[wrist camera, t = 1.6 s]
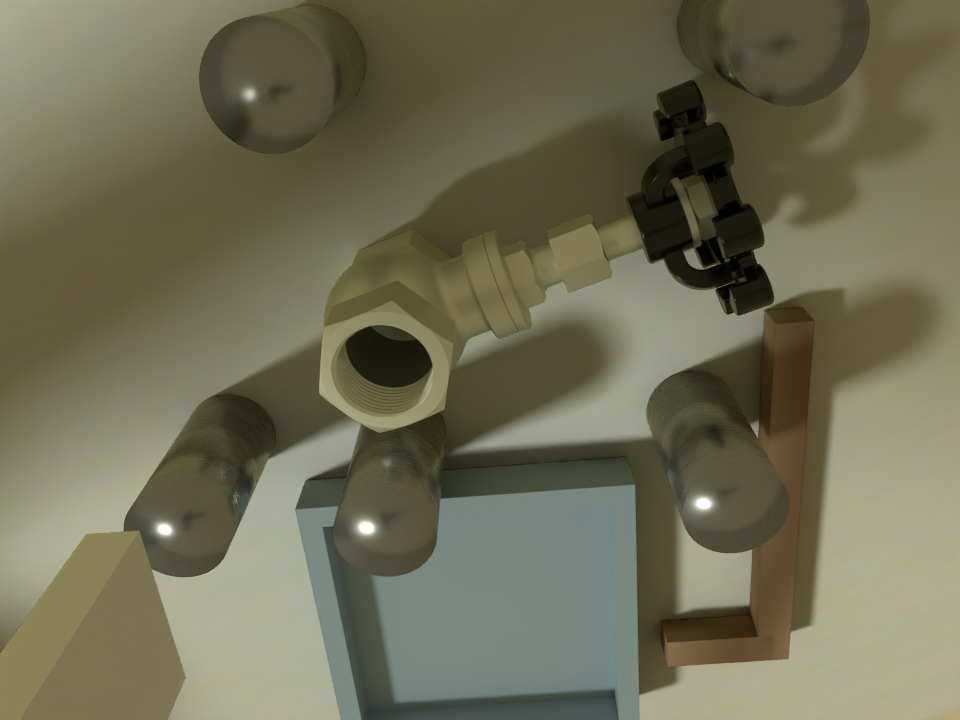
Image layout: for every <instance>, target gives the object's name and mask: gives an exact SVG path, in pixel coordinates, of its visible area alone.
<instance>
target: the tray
mask: <svg viewBox="0 0 960 720" xmlns="http://www.w3.org/2000/svg"><path fill="white" fill-rule="evenodd" d="M345 481H346V478H336V479H322V480H309V481H305V483H304V486H303V489H302V492H301V494H300V497H299V500H298V503H297V506H296V509H295V511H296V515H297V520H298V525H299V529H300V534H301V538H302V543H303V548H304V552H305V557H306V561H307V566H308V571H309V575H310V580H311V584H312V589H313V593H314V598H315V603H316V607H317V612H318V616H319V621H320V626H321V630H322V635H323V639H324V644H325V649H326V653H327V658H328V662H329V667H330V672H331V676H332V681H333V685H334V690H335V695H336V699H337V704H338V708H339V713H340V717H341V720H640V719H639V666H638V612H637V558H636V505H635V482H634V479H633V475H632V472H631V469H630V465H629V462H628V458H627V457H617V458H604V459H591V460H577V461H564V462H550V463H537V464H524V465H510V466H497V467H483V468H470V469H456V470H443V475H442V487H441V498H440V510H439V521H438V532H437V543H436V546H435V549H434V551H433V553H432V555H431V557H430V558H429V559H428V560H427V562H426V563H424V564H423V565H422V566H421V567H419V568H418V569H416V570H414V571H412V572H410V573H407V574H404V575H400V576H394V577H382V576H375V575H371V574H368V573H365V572H362V571H360V570H358V569H356V568H355V567H353V566H352V565H350V564H349V563H348V562H347V561H346V560H345V559H344V558H343V557H342V556H341V554H340V553H339V551H338V550H337V548H336V545H335V542H334V539H333V525H334V521H335V517H336V513H337V510H338V506H339V502H340V499H341V495H342V492H343V488H344V484H345Z"/></svg>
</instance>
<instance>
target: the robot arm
mask: <svg viewBox="0 0 960 720" xmlns="http://www.w3.org/2000/svg"><path fill="white" fill-rule="evenodd" d="M185 678H186V677H185V674H184V671H183V668H182V664H181V661H180V658H179V655H178V652H177V649H176V645H175V642H174V639H173V636H172V633H171V630H170V626H169V623H168V620H167V617H166V614H165V611H164V607H163V604H162V601H161V598H160V595H159V591H158V588H157V585H156V582H155V579H154V576H153V572H152V569H151V566H150V563H149V560H148V557H147V553H146V550H145V547H144V544H143V541H142V538H141V534H140V531H126V532H110V533H95V534H86V535H85V537H84V538H83V539H82V541H81V542H80V544H79V545H78V546H77V548H76V549H75V551H74V552H73V553H72V555H71V556H70V558H69V559H68V560H67V562H66V563H65V564H64V566H63V567H62V569H61V570H60V571H59V573H58V574H57V576H56V577H55V578H54V580H53V581H52V583H51V584H50V585H49V587H48V588H47V589H46V591H45V592H44V594H43V595H42V596H41V598H40V599H39V601H38V602H37V603H36V605H35V606H34V608H33V609H32V610H31V612H30V613H29V614H28V616H27V617H26V619H25V620H24V621H23V623H22V624H21V626H20V627H19V628H18V630H17V631H16V633H15V634H14V635H13V637H12V638H11V639H10V641H9V642H8V644H7V645H6V646H5V648H4V649H3V651H2V652H1V653H0V720H167V719H168V717H169V714H170V712H171V710H172V708H173V705H174V703H175V701H176V698H177V696H178V694H179V692H180V689H181V687H182V685H183V682H184V680H185Z"/></svg>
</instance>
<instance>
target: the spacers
mask: <svg viewBox="0 0 960 720" xmlns="http://www.w3.org/2000/svg"><path fill="white" fill-rule="evenodd" d="M869 25H870V19H869V10H868V6H867V2H866V0H683V1H682V3H681V6H680V9H679V14H678V20H677V33H678V38H679V42H680V45H681V48H682V50H683V52H684V54H685V55H686V57H687V58H688V59H689V60H690V62H691V63H692V64H694V65H695V66H696V67H697V68H699V69H700V70H702V71H704V72H706V73H708V74H710V75H712V76H714V77H717V78H719V79H721V80H723V81H725V82H727V83H729V84H731V85H733V86H735V87H737V88H740V89H742V90H744V91H746V92H748V93H750V94H752V95H754V96H756V97H758V98H760V99H763V100H765V101H767V102H770V103H773V104H776V105H782V106H799V105H805V104H808V103H812V102H815V101H817V100H819V99H822V98H824V97H825V96H827V95H829V94H830V93H832V92H833V91H834V90H836V89H837V88H838V87H839V86H841V85H842V84H843V83H844V82H845V81H846V80H847V79H848V77H849V76H850V75H851V74H852V72H853V71H854V70H855V68H856V67H857V65H858V63H859V61H860V59H861V58H862V55H863V53H864V50H865V48H866V44H867V40H868V35H869ZM365 70H366V59H365V52H364V48H363V45H362V42H361V40H360V38H359V36H358V34H357V32H356V31H355V29H354V28H353V27H352V26H351V24H350V23H349V22H348V21H347V20H346V19H345V18H343V17H342V16H341V15H339V14H338V13H336V12H334V11H332V10H330V9H328V8H325V7H321V6H314V5H305V6H299V7H294V8H289V9H285V10H280V11H275V12H270V13H265V14H260V15H255V16H251V17H246V18H242V19H239V20H236V21H234V22H232V23H230V24H228V25H226V26H225V27H224V28H222V29H221V30H220V31H219V32H218V33H217V34H216V35H215V36H214V37H213V38H212V40H211V41H210V42H209V44H208V46H207V48H206V49H205V52H204V55H203V57H202V61H201V65H200V74H199V81H200V90H201V95H202V99H203V102H204V105H205V107H206V109H207V112H208V113H209V115H210V117H211V119H212V120H213V121H214V123H215V124H216V126H217V127H218V128H219V129H220V130H221V131H222V132H223V133H224V134H225V135H226V136H227V137H228V138H230V139H231V140H232V141H234V142H235V143H237V144H239V145H241V146H243V147H244V148H247V149H250V150H252V151H256V152H260V153H268V154H279V153H285V152H289V151H292V150H295V149H297V148H299V147H301V146H303V145H304V144H306V143H307V142H309V141H310V140H311V139H312V138H313V137H315V136H316V135H317V134H318V133H319V132H320V131H321V130H322V129H323V128H324V127H325V126H326V125H327V124H328V123H329V122H330V121H331V120H332V119H333V118H334V117H335V116H336V115H337V114H338V113H339V112H340V111H341V110H342V109H343V108H344V107H345V106H346V105H347V104H348V103H349V102H350V101H351V100H352V99H353V98H354V97H355V96H356V94H357V93H358V91H359V89H360V87H361V85H362V83H363V80H364V76H365ZM646 414H647V421H648V424H649V427H650V430H651V433H652V436H653V438H654V441H655V444H656V447H657V450H658V453H659V455H660V458H661V461H662V464H663V467H664V470H665V472H666V475H667V478H668V481H669V484H670V486H671V489H672V492H673V495H674V498H675V501H676V503H677V506H678V509H679V512H680V515H681V518H682V520H683V523H684V526H685V528H686V531H687V532H688V534H689V535H690V536H691V538H692V539H693V540H694V541H695V542H697V543H698V544H699V545H701V546H703V547H705V548H707V549H709V550H712V551H716V552H720V553H739V552H744V551H748V550H751V549H754V548H756V547H759V546H761V545H762V544H764V543H766V542H767V541H769V540H770V539H771V538H773V537H774V536H775V535H776V534H777V533H778V531H779V530H780V529H781V528H782V526H783V525H784V523H785V521H786V519H787V516H788V513H789V507H790V500H789V494H788V491H787V489H786V487H785V485H784V483H783V482H782V480H781V478H780V476H779V475H778V473H777V471H776V469H775V468H774V466H773V464H772V463H771V461H770V459H769V457H768V456H767V454H766V452H765V450H764V449H763V447H762V445H761V443H760V442H759V440H758V438H757V436H756V435H755V433H754V431H753V430H752V428H751V426H750V424H749V423H748V421H747V419H746V417H745V416H744V414H743V412H742V410H741V409H740V407H739V405H738V403H737V402H736V400H735V398H734V396H733V395H732V393H731V391H730V390H729V388H728V386H727V385H726V384H725V383H724V382H723V381H722V380H721V379H719V378H718V377H716V376H714V375H713V374H710V373H707V372H702V371H686V372H682V373H678V374H675V375H673V376H671V377H669V378H667V379H666V380H664V381H663V382H662V383H661V384H660V385H659V386H658V387H657V388H656V389H655V390H654V392H653V393H652V395H651V397H650V399H649V401H648V405H647V412H646ZM445 441H446V427H445V423H444V420H443V418H442V416H441V414H440V413H439V412H438V413H436V414H434V415H432V416H429V417H427V418H425V419H422V420H420V421H417V422H415V423H412V424H409V425H406V426H403V427H400V428H397V429H393V430H389V431H385V432H381V433H378V432H376V431H374V430H372V429H370V428H368V427H366V426H364V425H362V424H361V426H360V430H359V433H358V437H357V441H356V444H355V448H354V452H353V455H352V459H351V463H350V466H349V470H348V473H347V477H346V481H345V484H344V488H343V492H342V495H341V499H340V502H339V506H338V510H337V513H336V517H335V521H334V525H333V539H334V542H335V545H336V548H337V550H338V551H339V553H340V554H341V556H342V557H343V558H344V559H345V560H346V561H347V562H348V563H349V564H350V565H352V566H353V567H355V568H356V569H358V570H360V571H362V572H365V573H368V574H371V575H375V576H382V577H394V576H400V575H404V574H407V573H410V572H412V571H414V570H416V569H418V568H419V567H421V566H422V565H423V564H424V563H426V562H427V560H428V559H429V558H430V557H431V555H432V553H433V551H434V549H435V546H436V543H437V532H438V521H439V510H440V498H441V487H442V475H443V464H444V452H445ZM274 444H275V429H274V425H273V423H272V421H271V419H270V417H269V415H268V414H267V413H266V412H265V411H264V410H263V409H262V408H261V407H260V406H259V405H258V404H256V403H255V402H253V401H251V400H249V399H247V398H244V397H241V396H237V395H218V396H214V397H211V398H209V399H207V400H205V401H204V402H202V403H201V404H200V405H199V406H198V407H197V408H196V409H195V411H194V412H193V414H192V415H191V417H190V419H189V420H188V422H187V423H186V425H185V426H184V428H183V429H182V431H181V432H180V434H179V435H178V437H177V438H176V440H175V441H174V443H173V444H172V446H171V447H170V449H169V450H168V452H167V453H166V455H165V456H164V458H163V459H162V461H161V462H160V464H159V466H158V467H157V469H156V470H155V472H154V473H153V475H152V476H151V478H150V479H149V481H148V482H147V484H146V485H145V487H144V488H143V490H142V491H141V493H140V494H139V496H138V497H137V499H136V500H135V502H134V503H133V505H132V506H131V508H130V509H129V511H128V513H127V515H126V517H125V521H124V532H126V531H140V534H141V538H142V541H143V544H144V547H145V550H146V553H147V557H148V560H149V563H150V566H151V569H153V570H155V571H157V572H160V573H162V574H166V575H170V576H175V577H193V576H198V575H202V574H204V573H207V572H209V571H211V570H212V569H214V568H215V567H217V566H218V565H219V564H220V563H221V561H222V560H223V559H224V557H225V555H226V553H227V551H228V548H229V546H230V544H231V542H232V539H233V537H234V535H235V533H236V530H237V528H238V526H239V524H240V521H241V519H242V517H243V515H244V512H245V510H246V508H247V506H248V503H249V501H250V499H251V497H252V494H253V492H254V490H255V488H256V485H257V483H258V481H259V479H260V476H261V474H262V472H263V470H264V467H265V465H266V463H267V461H268V458H269V456H270V454H271V452H272V450H273V447H274Z"/></svg>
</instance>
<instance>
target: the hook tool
mask: <svg viewBox="0 0 960 720" xmlns="http://www.w3.org/2000/svg"><path fill="white" fill-rule="evenodd" d="M814 323H815V321H814V320H813V319H812V318H811V317H810V315H809V314H808V313H807V312H806V311H805V310H804V309H803V308H802V307H799V308H786V309H774V310H765V316H764V335H763V355H762V375H761V394H760V414H759V433H758V440H759V442H760V443H761V445H762V447H763V449H764V450H765V452H766V454H767V456H768V457H769V459H770V461H771V463H772V464H773V466H774V468H775V469H776V471H777V473H778V475H779V476H780V478H781V480H782V482H783V483H784V485H785V487H786V489H787V491H788V494H789V500H790V507H789V513H788V516H787V519H786V521H785V523H784V525H783V526H782V528H781V529H780V530H779V531H778V533H777V534H776V535H775V536H774V537H773V538H771V539H770V540H769V541H767V542H766V543H764V544H762V545H761V546H759V547H756V548H754V549H753V551H752V571H751V590H750V610H749V615H742V616H727V617H712V618H697V619H681V620H666V621H662V647H663V651H664V655H665V659H666V663H667V667H671V666H687V665H703V664H718V663H734V662H750V661H766V660H781V659H788V658H789V645H790V632H791V619H792V606H793V594H794V581H795V568H796V555H797V542H798V529H799V516H800V503H801V490H802V477H803V465H804V452H805V439H806V426H807V413H808V400H809V387H810V374H811V361H812V348H813V336H814Z"/></svg>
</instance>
